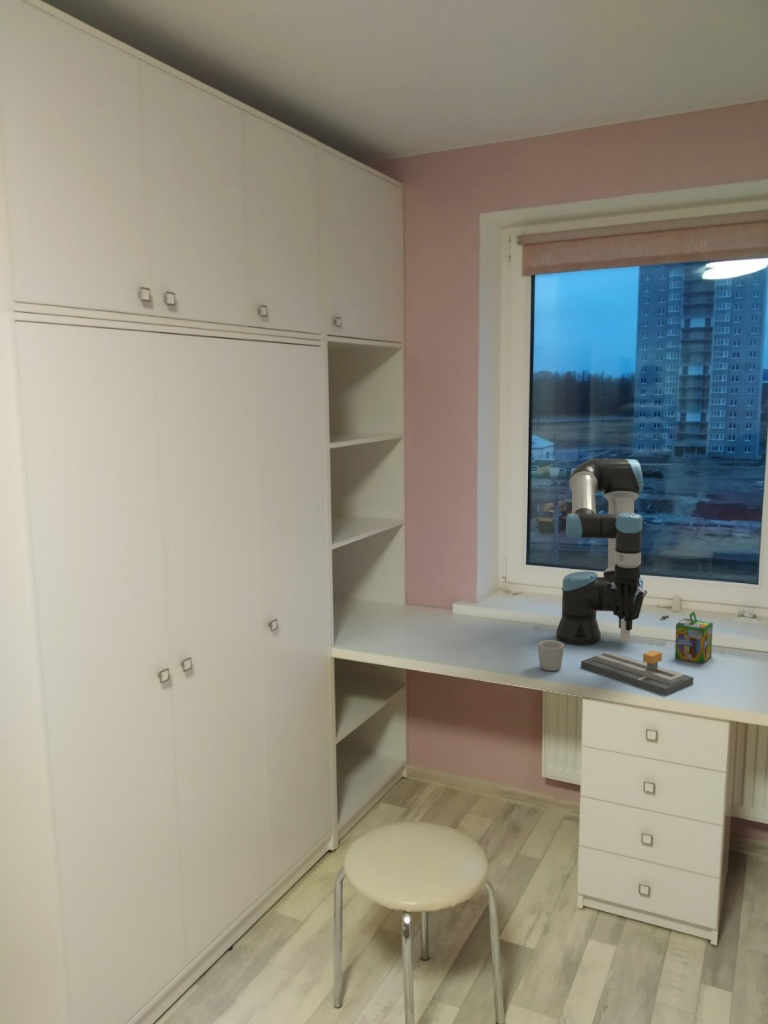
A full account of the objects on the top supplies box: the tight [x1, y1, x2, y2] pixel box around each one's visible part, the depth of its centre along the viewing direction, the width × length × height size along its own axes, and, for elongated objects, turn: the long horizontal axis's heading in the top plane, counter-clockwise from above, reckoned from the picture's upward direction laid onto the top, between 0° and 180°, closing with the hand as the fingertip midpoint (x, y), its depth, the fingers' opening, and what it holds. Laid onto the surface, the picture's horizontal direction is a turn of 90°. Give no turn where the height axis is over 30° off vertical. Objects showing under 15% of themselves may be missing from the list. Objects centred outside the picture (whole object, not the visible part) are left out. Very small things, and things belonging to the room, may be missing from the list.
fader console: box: [580, 651, 694, 696], centre depth 241 cm, size 30×14×4 cm, turn 37°
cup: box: [537, 639, 565, 672], centre depth 249 cm, size 11×8×8 cm
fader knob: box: [642, 650, 663, 673], centre depth 236 cm, size 3×5×6 cm, turn 127°
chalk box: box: [674, 610, 714, 664], centre depth 255 cm, size 9×9×15 cm
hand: (625, 639), depth 243 cm, fingers closed
